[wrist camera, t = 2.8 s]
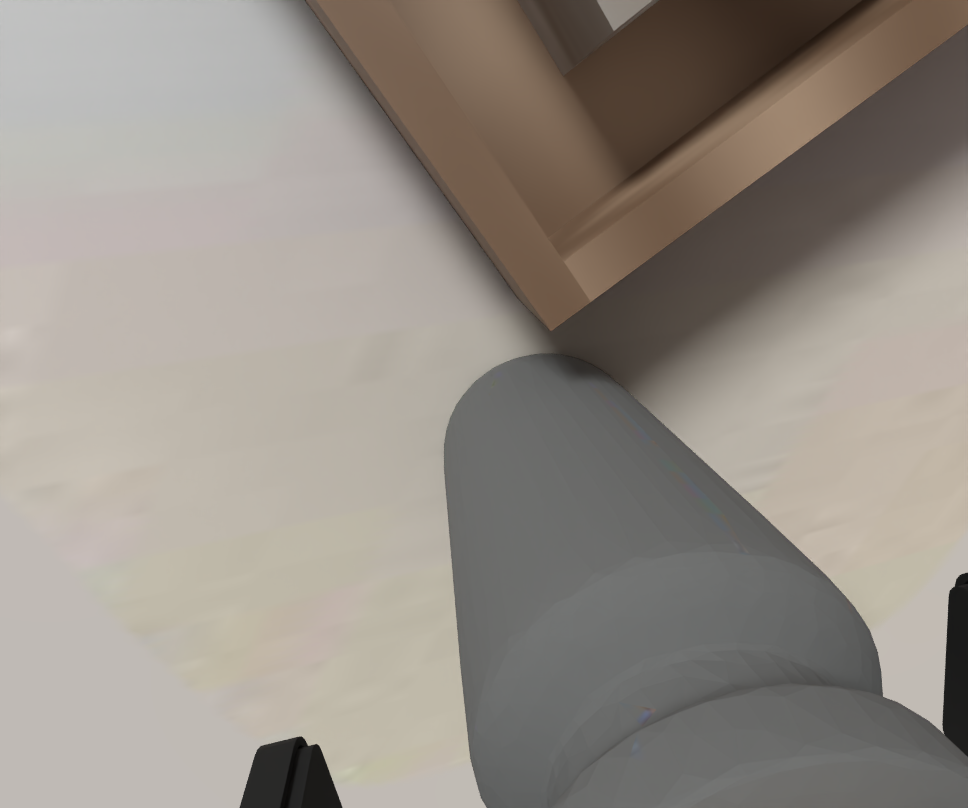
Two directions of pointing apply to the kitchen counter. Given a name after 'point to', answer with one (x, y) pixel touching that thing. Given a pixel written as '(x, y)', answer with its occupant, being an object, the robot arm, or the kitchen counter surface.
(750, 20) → the walled box
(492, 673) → the bottle
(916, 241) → the kitchen counter surface
